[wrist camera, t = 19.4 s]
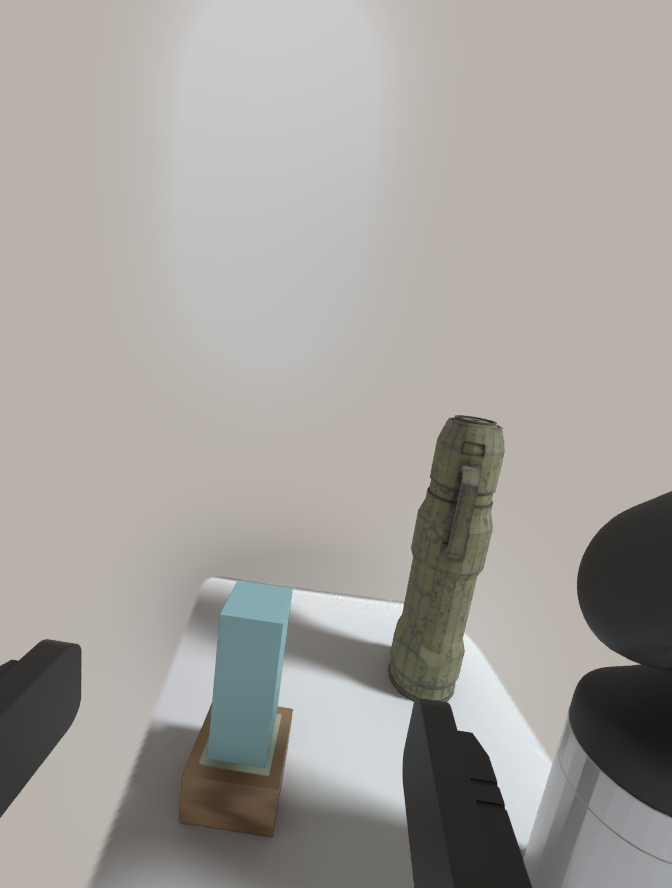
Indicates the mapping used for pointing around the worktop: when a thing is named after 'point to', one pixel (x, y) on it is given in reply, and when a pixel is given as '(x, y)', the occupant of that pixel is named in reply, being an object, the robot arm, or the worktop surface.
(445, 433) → the thermos
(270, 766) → the walnut base
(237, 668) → the teal block
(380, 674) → the worktop surface
